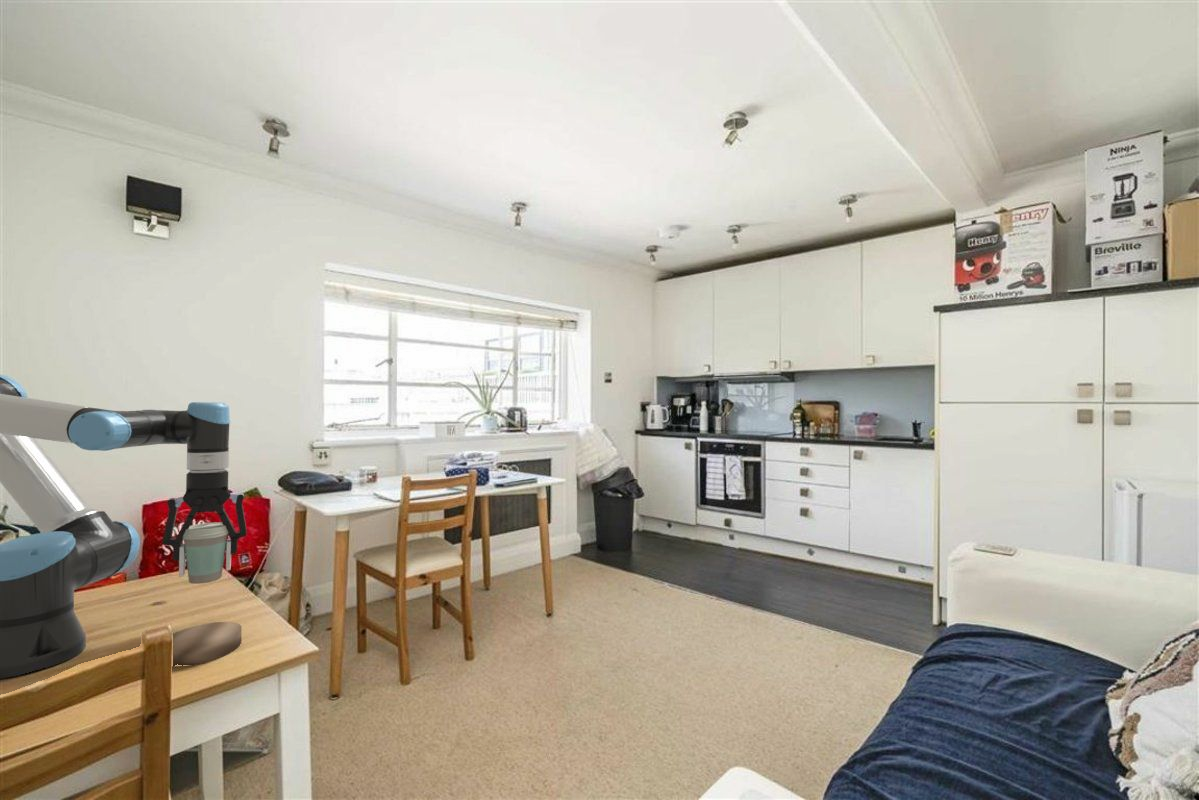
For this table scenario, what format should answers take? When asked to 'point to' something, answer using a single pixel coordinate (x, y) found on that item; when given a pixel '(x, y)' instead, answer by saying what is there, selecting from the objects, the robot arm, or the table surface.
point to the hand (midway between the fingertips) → (205, 571)
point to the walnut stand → (205, 642)
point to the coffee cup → (205, 551)
